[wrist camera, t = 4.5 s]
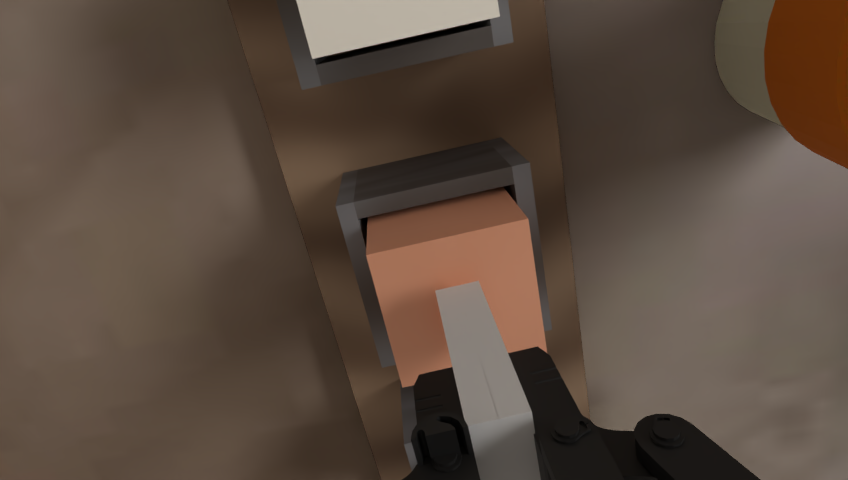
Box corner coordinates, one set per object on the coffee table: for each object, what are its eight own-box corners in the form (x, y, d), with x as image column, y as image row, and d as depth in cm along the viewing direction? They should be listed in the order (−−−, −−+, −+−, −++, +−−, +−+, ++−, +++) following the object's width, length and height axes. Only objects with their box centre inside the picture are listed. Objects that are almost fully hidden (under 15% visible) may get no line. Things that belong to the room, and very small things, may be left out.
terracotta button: (368, 208, 23) (365, 255, 18) (497, 179, 23) (528, 218, 18) (397, 320, 25) (402, 387, 20) (515, 293, 25) (547, 355, 20)
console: (174, -196, 21) (90, -288, 15) (502, -270, 21) (555, -393, 15) (394, 505, 35) (398, 605, 29) (588, 462, 35) (631, 553, 29)
